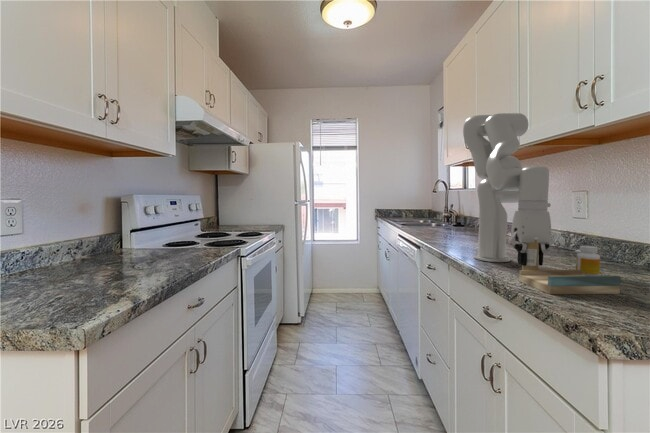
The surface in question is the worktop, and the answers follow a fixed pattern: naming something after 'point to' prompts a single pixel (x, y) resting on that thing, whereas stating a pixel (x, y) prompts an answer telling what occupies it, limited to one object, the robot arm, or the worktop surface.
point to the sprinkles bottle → (532, 256)
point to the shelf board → (570, 282)
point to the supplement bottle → (588, 261)
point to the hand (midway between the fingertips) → (530, 264)
